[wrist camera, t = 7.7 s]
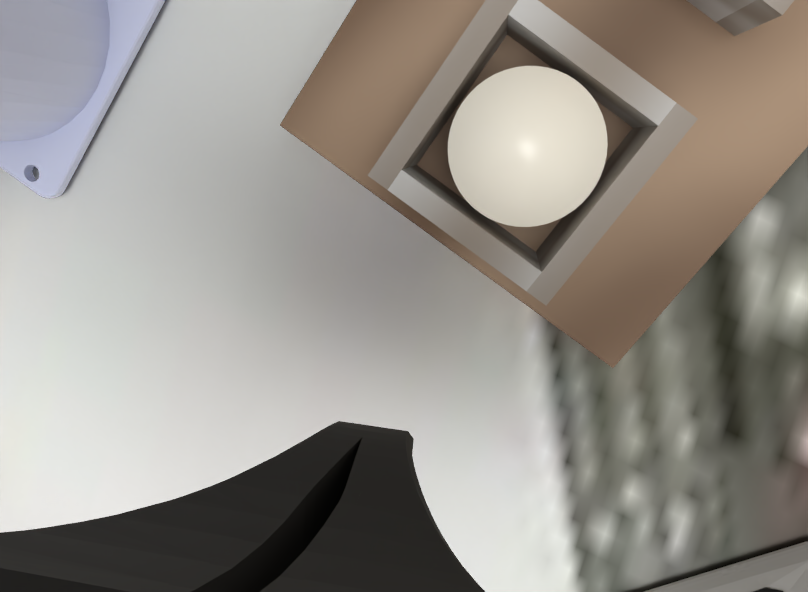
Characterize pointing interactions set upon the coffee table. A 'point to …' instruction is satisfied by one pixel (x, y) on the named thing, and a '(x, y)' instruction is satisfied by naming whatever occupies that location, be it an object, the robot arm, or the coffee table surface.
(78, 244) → the coffee table surface
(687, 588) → the electrical switch
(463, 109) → the plug cream
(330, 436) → the robot arm
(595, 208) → the panel
